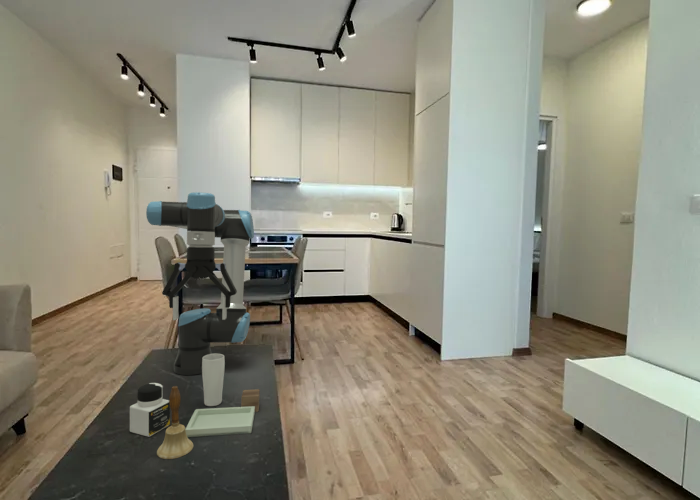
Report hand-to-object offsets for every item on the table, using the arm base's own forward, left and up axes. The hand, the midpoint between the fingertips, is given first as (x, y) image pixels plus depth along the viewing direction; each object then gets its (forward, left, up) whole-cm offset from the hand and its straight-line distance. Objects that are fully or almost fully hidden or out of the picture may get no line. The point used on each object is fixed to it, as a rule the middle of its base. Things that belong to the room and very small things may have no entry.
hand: (200, 319), depth 111 cm
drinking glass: (-8, +2, -29) cm, 30 cm away
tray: (+6, +7, -29) cm, 30 cm away
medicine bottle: (+6, -12, -29) cm, 32 cm away
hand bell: (+17, -2, -29) cm, 34 cm away
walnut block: (-3, +14, -29) cm, 32 cm away
